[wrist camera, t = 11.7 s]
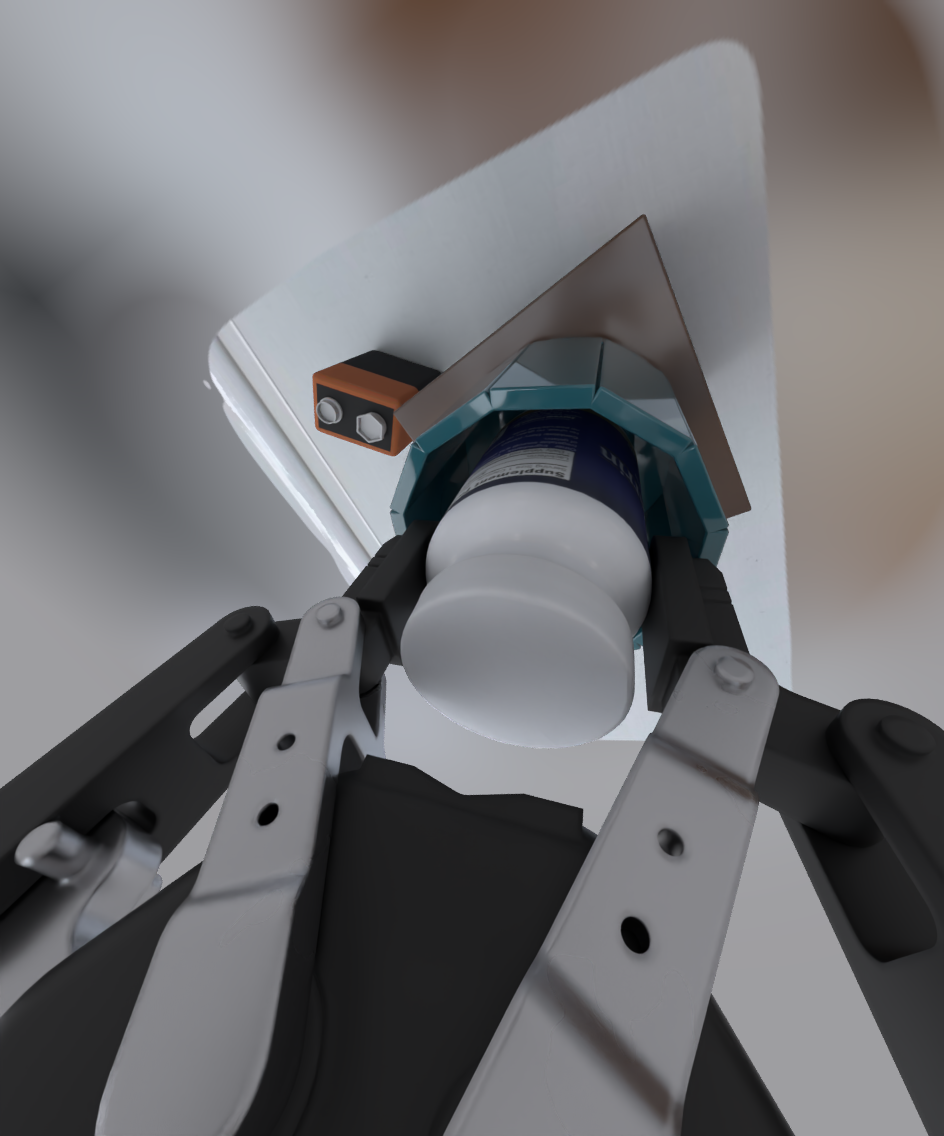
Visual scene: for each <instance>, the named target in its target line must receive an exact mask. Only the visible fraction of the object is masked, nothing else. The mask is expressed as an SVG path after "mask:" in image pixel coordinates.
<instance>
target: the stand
mask: <svg viewBox="0 0 944 1136" xmlns="http://www.w3.org/2000/svg"><path fill="white" fill-rule="evenodd" d="M563 337H590V338H596V337H601V338H602V339H603V340H605V339H608V340H610V341H612V342H613V343H615V344H619V345H621V346H623V347H625V348H627V349H629V350H631V351H633V352H635V353H636V354H638V355H639V356H640V357H642V358H643V359H645V360H646V361H647V362H649V363H650V364H651V365H652V366H653V367H655V368H657V369H658V370H660V371H662V372H663V373H664V376H666V377H667V378H668V380H669V383H670V385H671V387H672V389H673V392H674V394H675V396H676V398H677V401H678V403H679V405H680V407H681V410H682V412H683V414H684V417H685V419H686V421H687V423H688V426H689V428H690V430H691V432H692V435H693V437H694V439H695V441H696V444H697V446H698V448H699V451H700V453H701V456H702V458H703V461H704V464H705V466H706V469H707V471H708V474H709V476H710V479H711V481H712V484H713V486H714V489H715V491H716V494H717V496H718V499H719V501H720V504H721V506H722V509H723V511H724V514H725V516H726V519H727V518H730V517H733V516H735V515H738V514H741V513H744V512H747V511H750V510H751V506H750V503H749V500H748V497H747V495H746V492H745V489H744V486H743V483H742V481H741V478H740V475H739V472H738V470H737V467H736V464H735V461H734V458H733V456H732V453H731V450H730V447H729V445H728V442H727V439H726V436H725V434H724V431H723V428H722V425H721V422H720V420H719V417H718V414H717V411H716V409H715V406H714V403H713V400H712V397H711V395H710V392H709V389H708V386H707V384H706V381H705V378H704V375H703V373H702V370H701V367H700V364H699V361H698V359H697V356H696V353H695V350H694V348H693V345H692V342H691V339H690V336H689V334H688V331H687V328H686V325H685V323H684V320H683V317H682V314H681V312H680V309H679V306H678V303H677V300H676V298H675V295H674V292H673V289H672V287H671V284H670V281H669V278H668V275H667V273H666V270H665V267H664V264H663V262H662V259H661V256H660V253H659V251H658V248H657V245H656V242H655V239H654V237H653V234H652V231H651V228H650V226H649V223H648V220H647V217H646V215H645V214H643V215H641V216H640V217H638V218H637V219H636V220H635V221H633V222H632V223H631V224H630V225H628V226H627V227H626V228H625V229H623V230H622V231H621V232H619V233H618V234H617V235H616V236H614V237H613V238H612V239H611V240H609V241H608V242H607V243H606V244H604V245H603V246H602V247H601V248H599V249H598V250H597V251H596V252H594V253H593V254H592V255H591V256H589V257H588V258H587V259H586V260H584V261H583V262H582V263H580V264H579V265H578V266H577V267H575V268H574V269H573V270H572V271H570V272H569V273H568V274H567V275H565V276H564V277H563V278H562V279H560V280H559V281H558V282H557V283H555V284H554V285H553V286H552V287H550V288H549V289H548V290H546V291H545V292H544V293H543V294H541V295H540V296H539V297H538V298H536V299H535V300H534V301H533V302H531V303H530V304H529V305H528V306H526V307H525V308H524V309H523V310H521V311H520V312H519V313H518V314H516V315H515V316H514V317H513V318H511V319H510V320H509V321H507V322H506V323H505V324H504V325H502V326H501V327H500V328H499V329H497V330H496V331H495V332H494V333H492V334H491V335H490V336H489V337H487V338H486V339H485V340H484V341H482V342H481V343H480V344H479V345H477V346H476V347H475V348H473V349H472V350H471V351H470V352H468V353H467V354H466V355H465V356H463V357H462V358H461V359H460V360H458V361H457V362H456V363H455V364H453V365H452V366H451V367H450V368H448V369H447V370H446V371H445V372H443V373H442V374H441V375H440V376H438V377H437V378H436V379H434V380H433V381H432V382H431V383H429V384H428V385H427V386H426V387H424V388H423V389H422V390H421V391H419V392H418V393H417V394H416V395H414V396H413V397H412V398H411V399H409V400H408V401H407V402H406V403H404V404H403V405H402V406H400V407H399V408H398V409H397V410H395V411H394V413H393V414H394V415H395V417H396V418H397V420H398V421H399V422H400V424H401V425H402V426H403V428H404V429H405V431H406V432H407V433H408V435H409V436H410V438H411V439H412V440H413V442H414V441H415V439H416V438H417V437H418V436H419V435H420V434H421V433H422V432H423V431H424V430H425V429H427V428H428V427H429V426H430V425H431V424H432V423H433V422H434V421H435V420H436V419H437V418H438V417H440V416H441V415H442V414H443V413H444V412H445V411H446V410H447V409H448V408H449V407H450V406H452V405H453V404H454V403H455V402H456V401H457V400H458V399H459V398H460V397H461V396H462V395H463V394H465V393H466V392H467V391H468V390H469V389H470V388H471V387H472V386H473V385H474V384H475V383H476V382H478V381H479V380H480V379H481V378H483V377H484V376H485V375H487V374H488V373H489V372H491V371H492V370H494V369H495V368H496V367H498V366H499V365H500V364H501V363H503V362H504V361H505V360H506V359H508V358H509V357H511V356H513V355H514V354H515V353H517V352H518V351H520V350H521V349H522V348H524V347H525V346H526V345H528V344H532V343H533V342H538V341H547V340H550V339H556V338H563Z"/></svg>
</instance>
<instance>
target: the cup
mask: <svg viewBox="0 0 944 1136" xmlns="http://www.w3.org/2000/svg"><path fill="white" fill-rule="evenodd" d="M551 409H591V410H593V411H595V412H596V413H598V414H600V415H602V416H603V417H605V418H607V419H608V420H610V421H612V422H613V423H615V424H617V425H619V426H620V427H621V428H622V429H623V430H624V432H625V433H626V434H627V436H628V438H629V439H630V441H631V443H632V445H633V447H634V450H635V453H636V457H637V462H638V469H639V476H640V485H641V493H642V500H643V509H644V516H645V524H646V533H647V540H648V547H649V548H650V543H651V539H652V537H653V535H660V536H676V537H686V538H687V541H688V545H689V549H690V553H691V556H692V558H703V559H708V560H709V561H710V562H711V563H713V564H714V565H715V566H716V567H717V564H718V561H719V558H720V556H721V553H722V550H723V547H724V544H725V542H726V539H727V536H728V533H729V531H728V529H727V527H728V526H729V524H728V521H727V519H726V516H725V514H724V511H723V509H722V506H721V504H720V501H719V499H718V496H717V494H716V491H715V489H714V486H713V484H712V481H711V479H710V476H709V474H708V471H707V469H706V466H705V464H704V461H703V458H702V456H701V453H700V451H699V448H698V446H697V444H696V441H695V439H694V437H693V435H692V432H691V430H690V428H689V426H688V423H687V421H686V419H685V417H684V414H683V412H682V410H681V407H680V405H679V403H678V401H677V398H676V396H675V394H674V392H673V389H672V387H671V385H670V383H669V380H668V378H667V377H666V376H664V373H663V372H662V371H660V370H658V369H657V368H655V367H653V366H652V365H651V364H650V363H649V362H647V361H646V360H645V359H643V358H642V357H640V356H639V355H638V354H636V353H635V352H633V351H631V350H629V349H627V348H625V347H623V346H621V345H619V344H615V343H613V342H612V341H610V340H608V339H605V340H603V339H602V338H601V337H596V338H590V337H563V338H556V339H550V340H547V341H538V342H533V343H532V344H528V345H526V346H525V347H524V348H522V349H521V350H520V351H518V352H517V353H515V354H514V355H513V356H511V357H509V358H508V359H506V360H505V361H504V362H503V363H501V364H500V365H499V366H498V367H496V368H495V369H494V370H492V371H491V372H489V373H488V374H487V375H485V376H484V377H483V378H481V379H480V380H479V381H478V382H476V383H475V384H474V385H473V386H472V387H471V388H470V389H469V390H468V391H467V392H466V393H465V394H463V395H462V396H461V397H460V398H459V399H458V400H457V401H456V402H455V403H454V404H453V405H452V406H450V407H449V408H448V409H447V410H446V411H445V412H444V413H443V414H442V415H441V416H440V417H438V418H437V419H436V420H435V421H434V422H433V423H432V424H431V425H430V426H429V427H428V428H427V429H425V430H424V431H423V432H422V433H421V434H420V435H419V436H418V437H417V438H416V439H415V441H414V442H413V443H412V444H411V447H410V450H409V453H408V456H407V459H406V462H405V465H404V468H403V470H402V473H401V476H400V479H399V482H398V485H397V488H396V491H395V494H394V497H393V500H392V503H391V505H390V508H391V509H392V510H391V511H390V515H391V519H392V523H393V527H394V531H395V535H403V533H404V532H405V531H406V529H407V528H408V527H409V525H410V524H411V523H412V522H413V521H414V520H429V521H439V522H440V521H441V519H442V518H443V516H444V514H445V513H446V511H447V510H448V508H449V507H450V505H451V504H452V502H453V501H454V499H455V498H456V496H457V495H458V493H459V492H460V490H461V488H462V487H463V485H464V484H465V482H466V481H467V479H468V478H469V476H470V475H471V473H472V472H473V470H474V469H475V467H476V465H477V464H478V462H479V461H480V459H481V458H482V456H483V455H484V453H485V452H486V450H487V449H488V447H489V446H490V444H491V442H492V441H493V439H494V438H495V437H496V435H497V434H498V433H499V432H500V431H501V429H502V428H503V427H504V426H505V425H506V424H507V423H508V422H510V421H511V420H512V419H513V418H515V417H516V416H518V415H519V414H521V413H523V412H524V411H526V410H551ZM633 644H634V650H637V649H640V648H641V646H643V638H642V625H641V627H640V628H639V630H638V632H637V633H636V635H635V636H634V637H633Z"/></svg>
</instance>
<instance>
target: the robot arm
mask: <svg viewBox="0 0 944 1136" xmlns="http://www.w3.org/2000/svg"><path fill="white" fill-rule="evenodd" d="M439 523H440V522H439V521H429V520H414V521H413V522H412V523H411V524H410V525H409V527H408V528H407V529H406V531H405V532H404V533H403V535H396V536H395V537H393V538H392V539H390V540H389V541H387V542H386V543H384V544H383V545H382V547H381V548H380V549H379V550H378V552H377V553H376V554H375V557H373V558H372V559H371V561H370V562H369V563H368V566H366V567H365V568H364V569H363V571H362V572H361V573H360V574H359V576H358V577H357V578H356V580H355V581H354V582H353V583H352V585H351V586H350V587H349V588H348V590H347V591H346V592H345V594H344V595H343V596H342V597H333V598H329V599H326V600H323V601H321V602H319V603H317V604H315V605H314V606H312V607H311V608H310V609H309V610H308V611H307V612H306V613H305V614H304V616H303V617H302V618H301V619H293V620H286V621H277V622H275V621H274V620H273V618H272V616H271V614H270V613H269V611H268V610H267V609H266V608H264V607H260V606H251V607H245V608H242V609H239V610H236V611H234V612H232V613H230V614H228V615H227V616H225V617H224V618H222V619H221V620H219V621H218V622H217V623H215V624H214V625H213V626H212V627H210V628H209V629H208V630H207V631H205V632H204V633H202V634H201V635H200V636H199V637H197V638H196V639H195V640H193V641H192V642H191V643H189V644H188V645H187V646H186V647H184V648H183V649H182V650H180V651H179V652H178V653H176V654H175V655H174V656H173V657H171V658H170V659H169V660H167V661H166V662H165V663H163V664H162V665H161V666H160V667H158V668H157V669H156V670H154V671H153V672H152V673H150V674H149V675H148V676H146V677H145V678H144V679H143V680H141V681H140V682H139V683H137V684H136V685H135V686H133V687H132V688H131V689H130V690H128V691H127V692H126V693H124V694H123V695H122V696H120V697H119V698H118V699H117V700H115V701H114V702H113V703H111V704H110V705H109V706H107V707H106V708H105V709H104V710H102V711H101V712H100V713H98V714H97V715H96V716H94V717H93V718H92V719H90V720H89V721H88V722H87V723H85V724H84V725H83V726H81V727H80V728H79V729H78V730H76V731H75V732H74V733H72V734H71V735H70V736H68V737H67V738H66V739H64V740H63V741H62V742H61V743H59V744H58V745H57V746H55V747H54V748H53V749H51V750H50V751H49V752H48V753H46V754H45V755H44V756H42V757H41V758H40V759H38V760H37V761H36V762H34V763H33V764H32V765H31V766H30V767H28V768H27V769H25V770H24V771H23V772H22V773H21V774H19V775H18V776H16V777H15V778H14V779H12V780H11V781H10V782H9V783H7V784H6V785H5V786H3V787H2V788H1V789H0V1136H795V1135H794V1133H793V1131H792V1130H791V1128H790V1126H789V1125H788V1123H787V1121H786V1119H785V1118H784V1116H783V1114H782V1113H781V1111H780V1109H779V1108H778V1106H777V1104H776V1102H775V1101H774V1099H773V1097H772V1096H771V1094H770V1092H769V1091H768V1089H767V1087H766V1086H765V1084H764V1082H763V1080H762V1079H761V1077H760V1075H759V1073H758V1072H757V1070H756V1068H755V1067H754V1065H753V1063H752V1062H751V1060H750V1058H749V1056H748V1055H747V1053H746V1051H745V1050H744V1048H743V1047H742V1045H741V1043H740V1041H739V1040H738V1038H737V1036H736V1035H735V1033H734V1031H733V1029H732V1028H731V1026H730V1025H729V1023H728V1021H727V1019H726V1018H725V1016H724V1014H723V1013H722V1011H721V1009H720V1007H719V1005H718V1004H717V1002H716V1000H715V999H714V997H713V995H712V994H711V991H712V988H713V984H714V980H715V976H716V971H717V968H718V964H719V960H720V956H721V952H722V948H723V944H724V940H725V937H726V933H727V928H728V924H729V921H730V917H731V913H732V909H733V905H734V901H735V897H736V893H737V889H738V886H739V881H740V878H741V874H742V870H743V866H744V862H745V858H746V854H747V850H748V846H749V842H750V838H751V834H752V830H753V826H754V823H755V819H756V815H757V810H758V805H759V802H761V803H763V804H765V805H767V806H769V807H771V808H773V809H775V810H777V811H779V813H780V815H781V817H782V819H783V822H784V824H785V826H786V828H787V830H788V832H789V834H790V837H791V839H792V841H793V843H794V845H795V848H796V850H797V852H798V854H799V856H800V858H801V861H802V863H803V865H804V867H805V869H806V871H807V874H808V876H809V878H810V880H811V882H812V884H813V887H814V889H815V891H816V893H817V895H818V897H819V899H820V902H821V904H822V906H823V908H824V910H825V912H826V915H827V917H828V919H829V921H830V923H831V925H832V928H833V930H834V932H835V934H836V936H837V938H838V941H839V943H840V945H841V947H842V949H843V951H844V953H845V956H846V958H847V960H848V962H849V964H850V966H851V969H852V971H853V973H854V975H855V977H856V980H857V982H858V984H859V986H860V988H861V990H862V992H863V995H864V997H865V999H866V1001H867V1003H868V1005H869V1008H870V1010H871V1012H872V1014H873V1016H874V1019H875V1021H876V1023H877V1025H878V1027H879V1029H880V1031H881V1034H882V1036H883V1038H884V1040H885V1042H886V1044H887V1046H888V1049H889V1051H890V1053H891V1055H892V1057H893V1060H894V1062H895V1064H896V1066H897V1068H898V1070H899V1073H900V1075H901V1077H902V1079H903V1081H904V1083H905V1085H906V1088H907V1090H908V1092H909V1094H910V1096H911V1098H912V1100H913V1103H914V1105H915V1107H916V1109H917V1111H918V1114H919V1116H920V1118H921V1120H922V1122H923V1124H924V1127H925V1129H926V1131H927V1133H928V1135H929V1136H944V731H943V730H942V729H941V728H940V727H939V726H937V725H936V724H934V723H933V722H931V721H930V720H928V719H927V718H925V717H923V716H922V715H920V714H918V713H916V712H914V711H912V710H910V709H908V708H905V707H903V706H900V705H897V704H894V703H891V702H888V701H883V700H878V699H858V700H854V701H852V702H849V703H848V704H847V705H846V706H845V707H844V708H843V709H842V710H838V709H835V708H833V707H830V706H827V705H825V704H822V703H819V702H817V701H814V700H811V699H808V698H806V697H803V696H801V695H798V694H796V693H793V692H791V691H789V690H787V689H785V688H783V687H781V686H780V685H778V682H777V680H776V678H775V676H774V675H773V673H772V672H771V671H770V670H769V668H768V667H767V666H766V665H764V664H763V663H762V662H761V661H759V660H758V659H757V658H755V657H753V656H752V655H750V654H749V651H748V648H747V645H746V642H745V639H744V636H743V633H742V630H741V627H740V624H739V622H738V619H737V616H736V613H735V610H734V607H733V605H732V604H731V602H732V601H731V598H730V595H729V592H728V591H727V586H726V583H725V580H724V577H723V574H722V572H721V571H720V570H719V569H718V568H717V567H716V566H715V565H714V564H713V563H711V562H710V561H709V560H708V559H703V558H692V556H691V553H690V549H689V545H688V541H687V538H686V537H676V536H660V535H653V537H652V539H651V543H650V548H649V553H650V560H651V567H652V595H651V601H650V606H649V609H648V612H647V615H646V618H645V620H644V622H643V623H642V638H643V651H644V665H645V678H646V692H647V705H648V711H654V712H659V713H662V715H661V717H660V719H659V721H658V723H657V725H656V727H655V729H654V731H653V732H652V733H650V734H649V736H648V737H647V739H646V741H645V743H644V745H643V746H642V748H641V750H640V752H639V754H638V756H637V758H636V760H635V762H634V764H633V766H632V768H631V770H630V772H629V774H628V776H627V778H626V780H625V782H624V784H623V786H622V788H621V790H620V792H619V794H618V796H617V798H616V800H615V802H614V804H613V806H612V808H611V810H610V812H609V814H608V816H607V818H606V820H605V822H604V824H603V826H602V828H601V830H600V832H599V834H598V835H597V834H595V833H593V832H592V831H590V830H589V829H587V828H585V827H584V826H582V823H583V809H582V808H578V807H574V806H570V805H566V804H562V803H558V802H554V801H550V800H546V799H542V798H538V797H534V796H530V795H526V794H494V795H463V794H460V793H458V792H456V791H454V790H452V789H451V788H449V787H447V786H446V785H444V784H442V783H441V782H439V781H438V780H436V779H434V778H433V777H431V776H430V775H428V774H426V773H424V772H423V771H421V770H419V769H418V768H416V767H415V766H412V765H408V764H404V763H400V762H396V761H392V760H388V759H386V757H385V751H384V729H385V703H386V702H385V701H386V677H385V674H384V672H385V670H386V668H387V667H388V665H389V664H395V665H401V666H403V663H402V659H401V638H402V634H403V630H404V628H405V626H406V623H407V621H408V619H409V617H410V615H411V614H412V612H413V610H414V608H415V606H416V604H417V602H418V600H419V598H420V596H421V594H422V592H423V590H424V589H425V587H426V586H427V582H426V556H427V551H428V547H429V544H430V541H431V539H432V536H433V534H434V532H435V530H436V528H437V526H438V524H439ZM235 679H237V680H238V682H239V683H240V684H241V686H242V687H243V688H244V689H245V692H244V693H243V694H241V696H239V697H238V698H237V699H236V700H235V701H234V702H233V703H232V704H231V705H230V706H229V707H228V708H227V709H226V710H225V711H224V712H223V713H222V714H221V715H220V716H219V717H218V718H217V719H215V720H214V722H212V723H211V724H210V725H209V726H208V727H207V728H206V729H205V730H204V731H203V732H202V733H201V734H200V735H199V736H197V737H196V738H194V739H193V738H192V737H191V736H190V725H191V723H192V721H193V720H194V718H195V717H196V716H197V714H198V713H200V712H201V711H202V710H203V709H204V708H205V707H206V706H207V705H208V704H209V703H210V702H212V701H213V700H214V699H215V698H216V697H217V696H218V695H219V694H220V693H221V692H222V691H223V690H225V689H226V688H227V687H228V686H229V685H230V684H231V683H232V682H233V681H234V680H235ZM227 788H228V790H227ZM226 790H227V793H226V796H225V799H224V802H223V805H222V808H221V811H220V814H219V816H218V819H217V822H216V825H215V828H214V831H213V834H212V837H211V840H210V843H209V846H208V849H207V852H206V854H205V858H204V860H203V861H202V862H201V863H199V864H198V865H196V866H195V867H193V868H192V869H191V870H189V871H188V872H186V873H185V874H184V875H182V876H181V877H179V878H178V879H177V880H175V881H174V882H172V883H171V884H170V885H168V886H167V887H165V888H164V889H162V890H161V891H160V889H161V886H162V877H161V876H160V875H159V874H157V871H158V869H159V866H160V864H161V863H162V862H163V861H164V860H165V858H166V857H167V856H168V855H169V854H170V853H171V852H172V851H173V849H174V848H175V847H176V846H177V844H179V843H180V841H181V840H182V839H183V838H184V837H185V836H186V835H187V833H188V832H189V831H190V830H191V829H192V828H193V827H194V826H195V825H196V823H197V822H198V821H199V820H200V819H201V818H202V817H203V816H204V814H205V813H206V812H207V811H208V810H209V809H210V808H211V807H212V805H213V804H214V803H215V802H216V801H217V800H218V799H219V798H220V796H221V795H222V794H223V793H224V792H225V791H226ZM159 891H160V892H159Z"/></svg>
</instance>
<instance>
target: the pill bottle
mask: <svg viewBox="0 0 944 1136" xmlns="http://www.w3.org/2000/svg"><path fill="white" fill-rule="evenodd" d="M426 582H427V586H426V587H425V589H424V590H423V592H422V594H421V596H420V598H419V600H418V602H417V604H416V606H415V608H414V610H413V612H412V614H411V615H410V617H409V619H408V621H407V623H406V626H405V628H404V630H403V634H402V638H401V659H402V663H403V667H404V669H405V672H406V674H407V676H408V678H409V680H410V681H411V683H412V684H413V686H414V687H415V688H416V690H417V691H418V692H419V693H420V695H421V696H422V697H423V698H424V699H425V700H426V701H427V702H428V703H429V704H430V705H431V706H432V707H433V708H435V709H436V710H437V711H439V712H440V713H441V714H442V715H444V716H445V717H447V718H448V719H450V720H451V721H453V722H455V723H456V724H459V725H460V726H462V727H464V728H466V729H468V730H470V731H472V732H474V733H477V734H479V735H482V736H484V737H487V738H490V739H493V740H496V741H499V742H503V743H507V744H511V745H517V746H522V747H529V748H542V749H552V748H566V747H572V746H578V745H582V744H585V743H589V742H592V741H595V740H597V739H599V738H602V737H603V736H605V735H606V734H608V733H610V732H611V731H612V730H614V729H615V728H616V727H617V726H618V725H619V724H620V723H621V722H622V721H623V720H624V719H625V717H626V715H627V714H628V712H629V710H630V707H631V705H632V701H633V697H634V689H635V666H634V644H633V637H634V636H635V635H636V633H637V632H638V630H639V628H640V627H641V625H642V623H643V622H644V620H645V618H646V615H647V612H648V609H649V606H650V601H651V595H652V567H651V560H650V553H649V547H648V540H647V533H646V524H645V516H644V509H643V500H642V493H641V485H640V476H639V469H638V462H637V457H636V453H635V450H634V447H633V445H632V443H631V441H630V439H629V438H628V436H627V434H626V433H625V432H624V430H623V429H622V428H621V427H620V426H619V425H617V424H615V423H613V422H612V421H610V420H608V419H607V418H605V417H603V416H602V415H600V414H598V413H596V412H595V411H593V410H591V409H551V410H526V411H524V412H523V413H521V414H519V415H518V416H516V417H515V418H513V419H512V420H511V421H510V422H508V423H507V424H506V425H505V426H504V427H503V428H502V429H501V431H500V432H499V433H498V434H497V435H496V437H495V438H494V439H493V441H492V442H491V444H490V446H489V447H488V449H487V450H486V452H485V453H484V455H483V456H482V458H481V459H480V461H479V462H478V464H477V465H476V467H475V469H474V470H473V472H472V473H471V475H470V476H469V478H468V479H467V481H466V482H465V484H464V485H463V487H462V488H461V490H460V492H459V493H458V495H457V496H456V498H455V499H454V501H453V502H452V504H451V505H450V507H449V508H448V510H447V511H446V513H445V514H444V516H443V518H442V519H441V521H440V523H439V524H438V526H437V528H436V530H435V532H434V534H433V536H432V539H431V541H430V544H429V547H428V551H427V556H426Z"/></svg>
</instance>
